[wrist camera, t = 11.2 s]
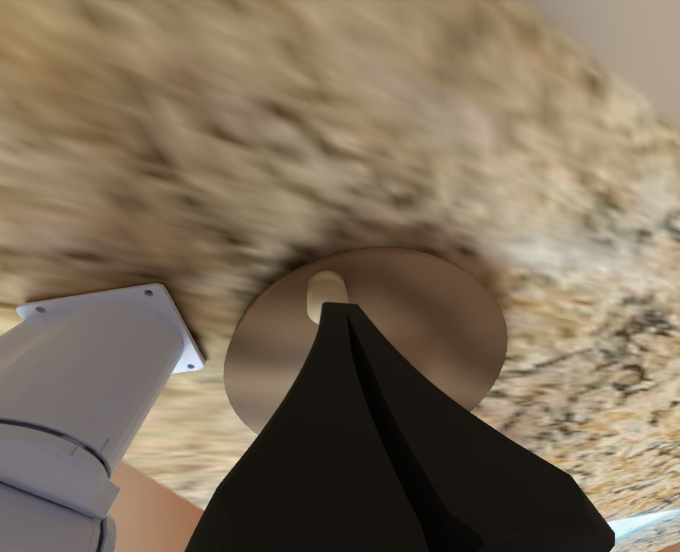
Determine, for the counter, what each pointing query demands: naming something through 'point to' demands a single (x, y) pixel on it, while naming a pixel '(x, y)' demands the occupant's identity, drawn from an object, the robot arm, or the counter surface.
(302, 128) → the counter surface
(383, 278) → the turntable top
